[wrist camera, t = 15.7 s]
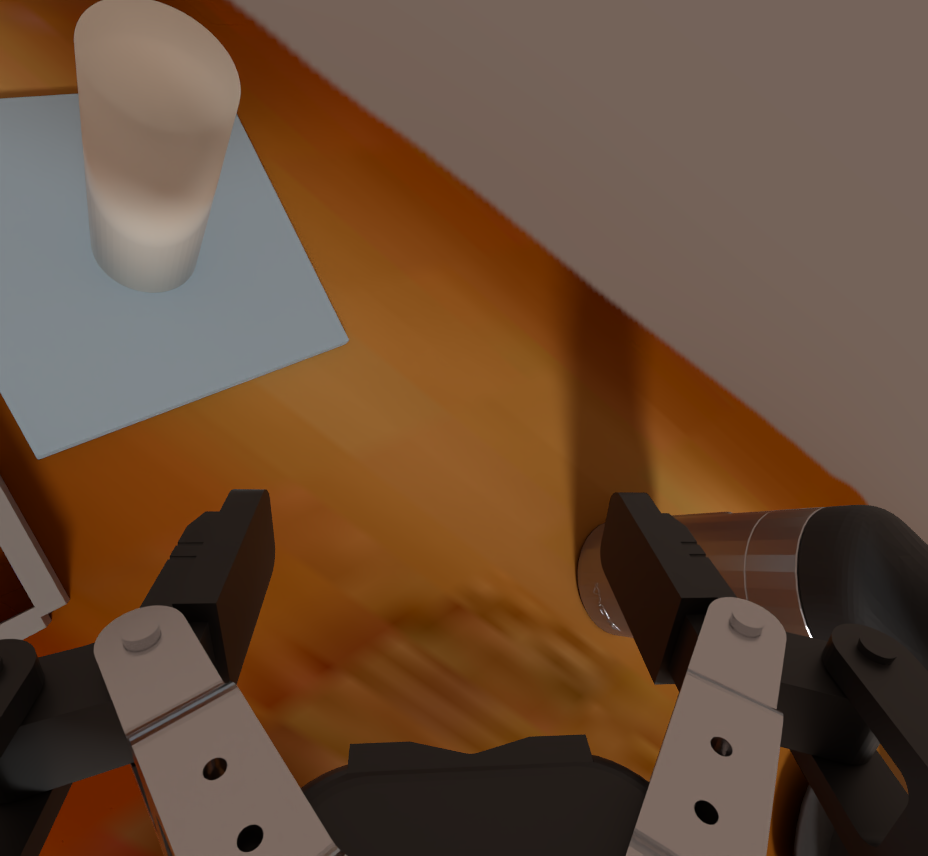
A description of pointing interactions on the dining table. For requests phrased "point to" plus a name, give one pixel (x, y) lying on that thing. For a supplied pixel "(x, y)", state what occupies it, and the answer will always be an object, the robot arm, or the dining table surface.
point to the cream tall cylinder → (151, 136)
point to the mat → (137, 292)
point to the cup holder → (27, 571)
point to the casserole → (816, 830)
